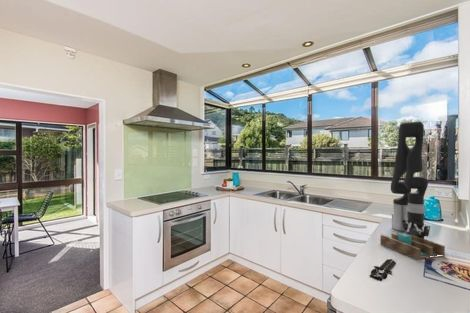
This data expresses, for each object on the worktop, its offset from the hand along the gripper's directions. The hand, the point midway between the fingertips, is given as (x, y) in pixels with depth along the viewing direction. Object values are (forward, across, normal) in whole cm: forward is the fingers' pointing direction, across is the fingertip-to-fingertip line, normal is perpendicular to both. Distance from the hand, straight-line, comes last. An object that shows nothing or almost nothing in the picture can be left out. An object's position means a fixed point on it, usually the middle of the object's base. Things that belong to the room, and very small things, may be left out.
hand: (415, 240), depth 127 cm
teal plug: (0, +7, -17) cm, 18 cm away
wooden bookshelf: (+1, +7, -13) cm, 15 cm away
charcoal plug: (+1, 0, 0) cm, 1 cm away
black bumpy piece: (+2, +20, -45) cm, 49 cm away
